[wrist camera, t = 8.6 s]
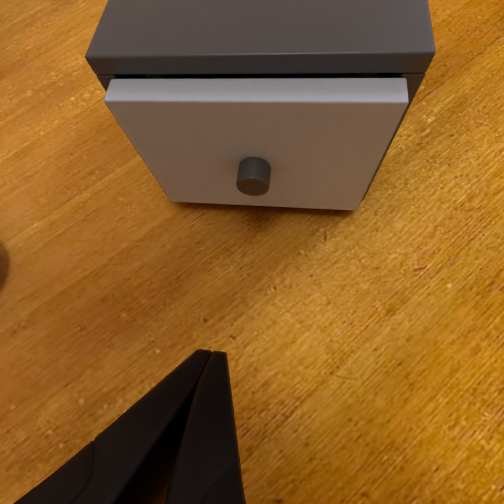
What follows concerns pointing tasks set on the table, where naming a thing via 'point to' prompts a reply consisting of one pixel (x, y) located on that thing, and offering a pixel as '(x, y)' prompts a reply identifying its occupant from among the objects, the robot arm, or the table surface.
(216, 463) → the robot arm
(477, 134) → the table surface
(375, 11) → the cabinet
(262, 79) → the drawer
